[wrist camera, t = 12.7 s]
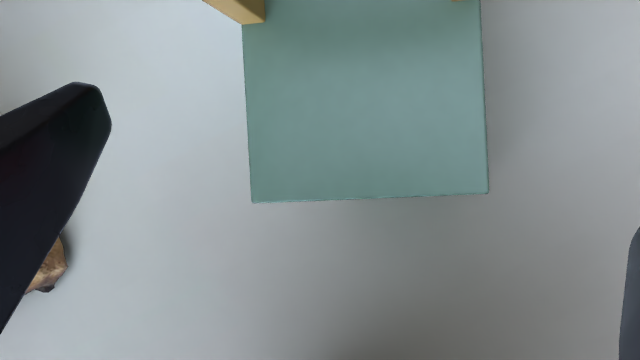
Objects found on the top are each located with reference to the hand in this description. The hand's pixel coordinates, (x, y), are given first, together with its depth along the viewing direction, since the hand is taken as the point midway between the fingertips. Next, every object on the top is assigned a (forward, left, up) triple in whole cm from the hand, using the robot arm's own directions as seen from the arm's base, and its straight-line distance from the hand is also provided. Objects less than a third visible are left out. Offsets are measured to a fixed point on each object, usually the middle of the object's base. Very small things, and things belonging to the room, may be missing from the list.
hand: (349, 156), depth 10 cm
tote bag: (+4, 0, -13) cm, 14 cm away
